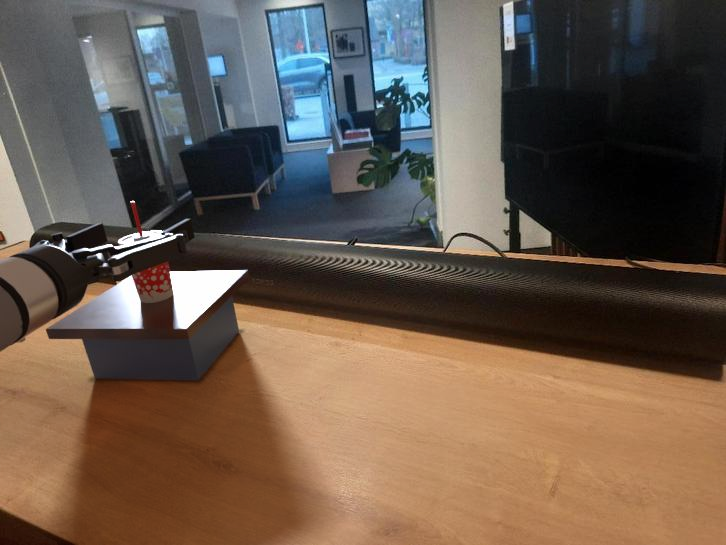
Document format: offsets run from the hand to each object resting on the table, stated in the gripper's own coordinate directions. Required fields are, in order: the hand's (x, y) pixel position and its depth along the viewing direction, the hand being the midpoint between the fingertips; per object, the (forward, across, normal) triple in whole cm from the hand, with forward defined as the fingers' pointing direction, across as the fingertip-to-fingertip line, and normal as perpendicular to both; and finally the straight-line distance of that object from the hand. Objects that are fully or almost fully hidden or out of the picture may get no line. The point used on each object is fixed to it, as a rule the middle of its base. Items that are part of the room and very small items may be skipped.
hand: (146, 230), depth 70 cm
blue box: (-2, 0, -19) cm, 19 cm away
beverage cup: (-2, 0, -10) cm, 10 cm away
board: (-2, 0, -11) cm, 11 cm away
